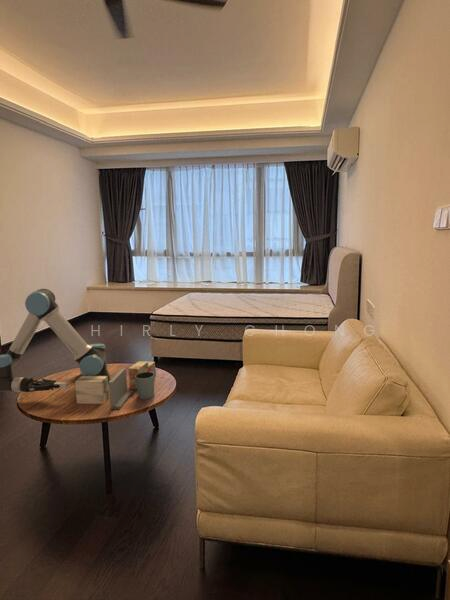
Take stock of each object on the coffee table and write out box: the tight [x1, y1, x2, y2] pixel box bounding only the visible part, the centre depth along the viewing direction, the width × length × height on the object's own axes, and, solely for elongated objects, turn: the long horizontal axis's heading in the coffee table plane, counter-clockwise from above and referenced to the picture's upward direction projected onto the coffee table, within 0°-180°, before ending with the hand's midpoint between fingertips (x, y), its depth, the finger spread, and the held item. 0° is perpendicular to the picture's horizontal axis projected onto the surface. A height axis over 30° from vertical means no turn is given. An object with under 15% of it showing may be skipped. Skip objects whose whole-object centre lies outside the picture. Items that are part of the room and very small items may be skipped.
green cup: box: [135, 372, 156, 400], centre depth 206 cm, size 10×10×12 cm
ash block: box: [74, 375, 110, 405], centre depth 202 cm, size 8×14×12 cm, turn 86°
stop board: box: [108, 367, 134, 410], centre depth 200 cm, size 20×5×14 cm, turn 176°
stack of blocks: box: [128, 360, 157, 390], centre depth 226 cm, size 21×6×12 cm, turn 165°
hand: (66, 385), depth 202 cm, fingers closed
